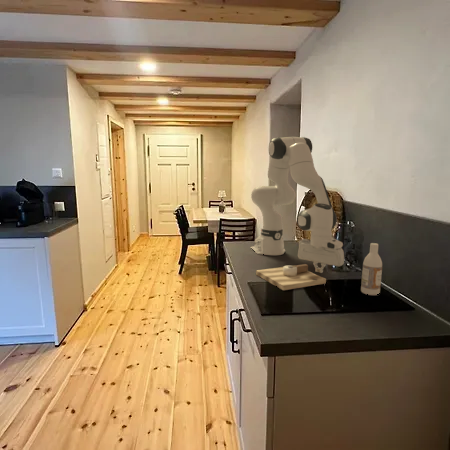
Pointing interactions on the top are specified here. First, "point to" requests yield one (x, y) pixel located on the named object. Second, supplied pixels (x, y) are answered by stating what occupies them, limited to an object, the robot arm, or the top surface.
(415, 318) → the top surface
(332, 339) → the top surface
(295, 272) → the brown and cream block
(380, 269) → the bath foam
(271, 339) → the top surface
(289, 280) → the wooden cutting board
